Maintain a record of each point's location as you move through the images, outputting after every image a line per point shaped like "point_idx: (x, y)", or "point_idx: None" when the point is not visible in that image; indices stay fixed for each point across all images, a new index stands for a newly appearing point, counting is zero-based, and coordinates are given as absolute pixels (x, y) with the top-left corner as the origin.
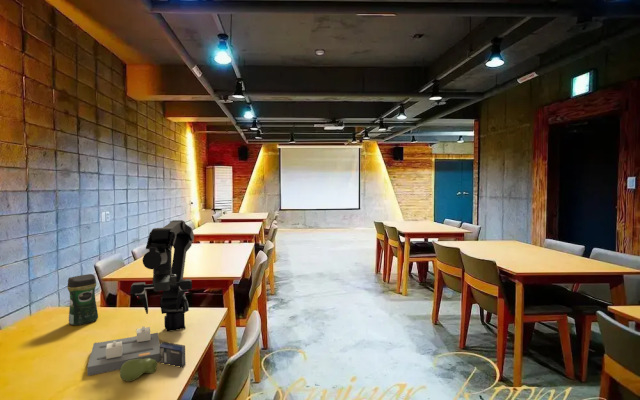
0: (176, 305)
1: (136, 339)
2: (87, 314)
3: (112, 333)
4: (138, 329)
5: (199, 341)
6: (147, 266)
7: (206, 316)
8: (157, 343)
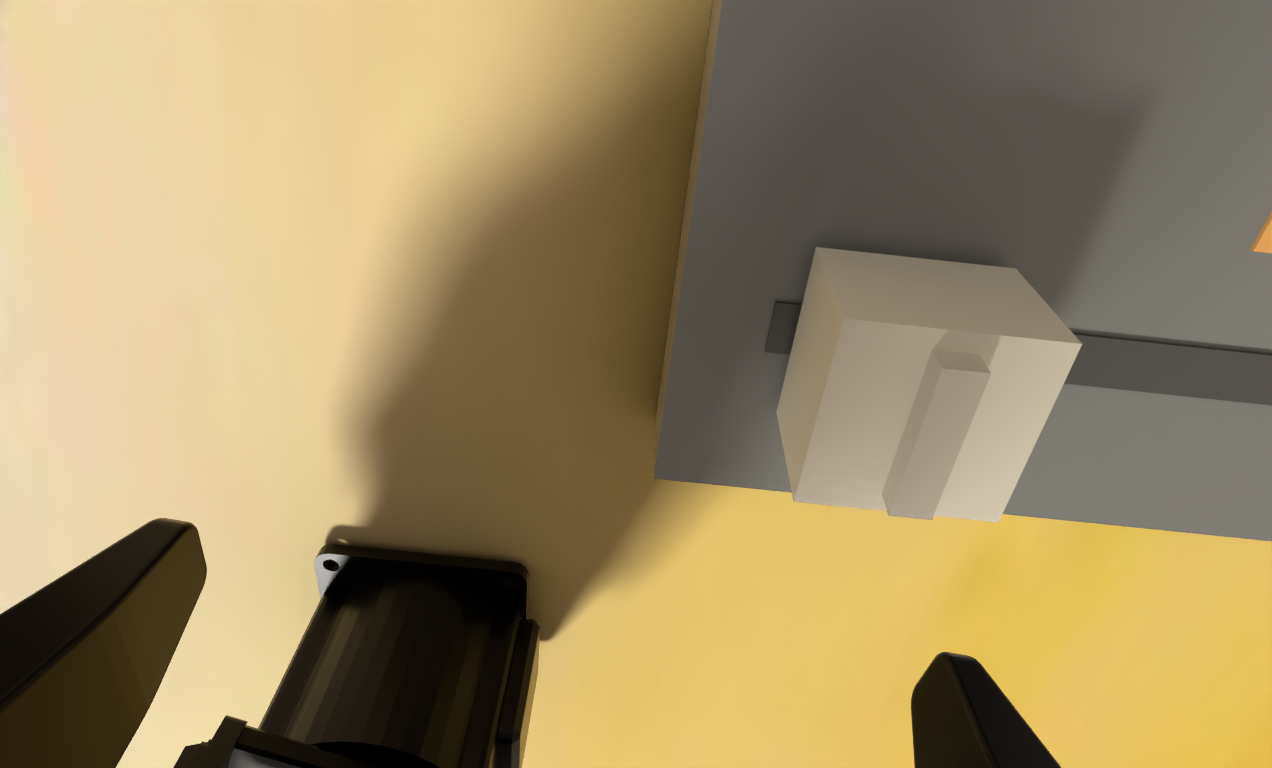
0: (114, 676)
1: None
2: None
3: None
4: (985, 487)
5: (105, 46)
6: None
7: None
8: (746, 54)
